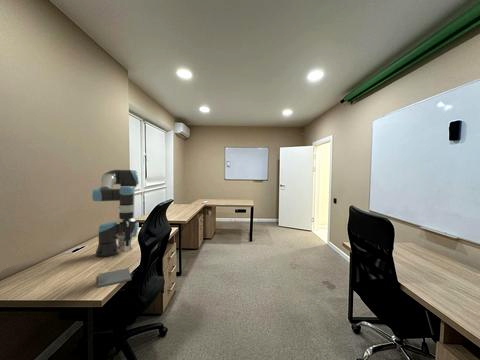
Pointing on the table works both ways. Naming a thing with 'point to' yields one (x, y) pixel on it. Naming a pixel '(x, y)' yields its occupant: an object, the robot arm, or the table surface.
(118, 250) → the mug
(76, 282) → the table surface
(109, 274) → the slate board
